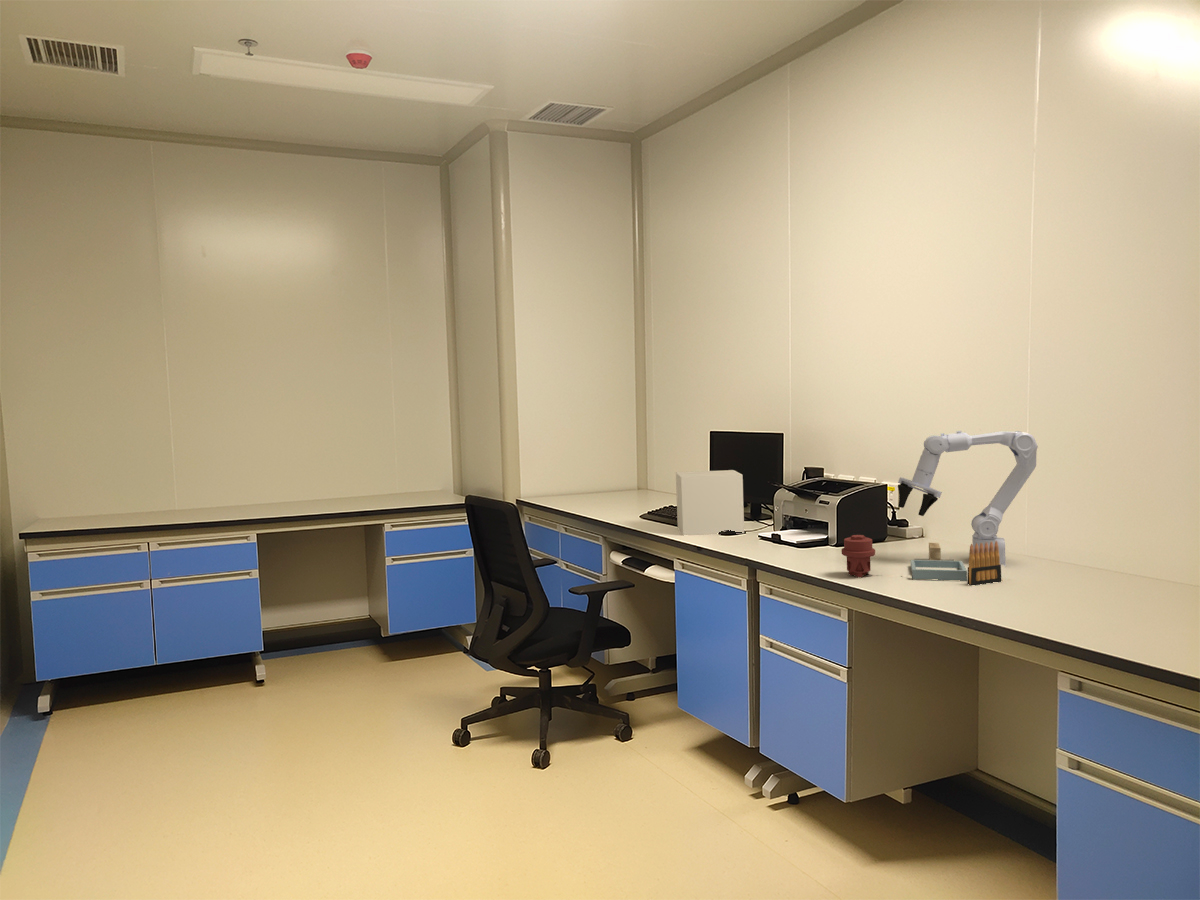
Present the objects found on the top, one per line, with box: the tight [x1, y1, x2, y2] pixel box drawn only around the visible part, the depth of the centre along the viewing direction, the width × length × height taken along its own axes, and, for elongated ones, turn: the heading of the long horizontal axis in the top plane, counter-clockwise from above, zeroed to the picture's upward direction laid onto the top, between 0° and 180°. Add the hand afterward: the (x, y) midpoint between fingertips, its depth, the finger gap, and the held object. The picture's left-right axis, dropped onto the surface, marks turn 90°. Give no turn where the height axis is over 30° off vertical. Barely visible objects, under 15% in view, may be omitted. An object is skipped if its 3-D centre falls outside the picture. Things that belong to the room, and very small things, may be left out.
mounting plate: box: [913, 558, 955, 561], centre depth 275 cm, size 12×10×1 cm
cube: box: [675, 469, 745, 537], centre depth 360 cm, size 25×21×24 cm
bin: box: [910, 559, 968, 582], centre depth 261 cm, size 15×15×3 cm
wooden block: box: [928, 542, 942, 560], centre depth 275 cm, size 3×9×6 cm, turn 162°
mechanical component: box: [840, 534, 876, 578], centre depth 265 cm, size 12×10×10 cm
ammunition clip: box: [966, 541, 1002, 586], centre depth 248 cm, size 11×2×12 cm, turn 108°
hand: (910, 511), depth 276 cm, fingers open, 7 cm apart
